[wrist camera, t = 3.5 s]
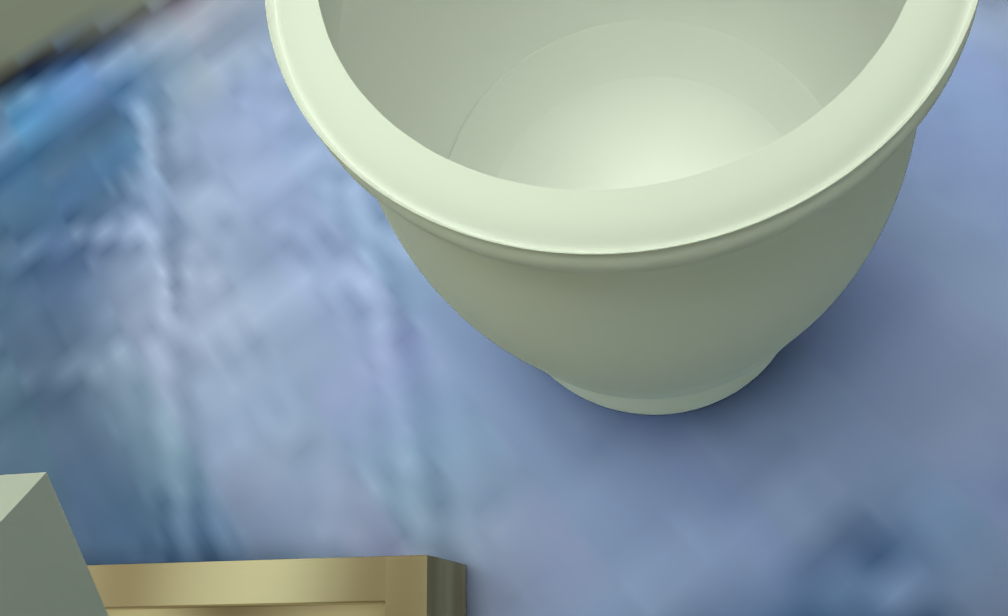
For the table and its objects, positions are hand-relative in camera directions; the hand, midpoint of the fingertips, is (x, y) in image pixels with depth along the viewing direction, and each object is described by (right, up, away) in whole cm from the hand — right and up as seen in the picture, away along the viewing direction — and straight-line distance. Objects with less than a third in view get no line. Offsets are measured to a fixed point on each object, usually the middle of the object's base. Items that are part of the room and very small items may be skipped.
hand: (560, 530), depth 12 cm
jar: (+4, +4, +16) cm, 17 cm away
